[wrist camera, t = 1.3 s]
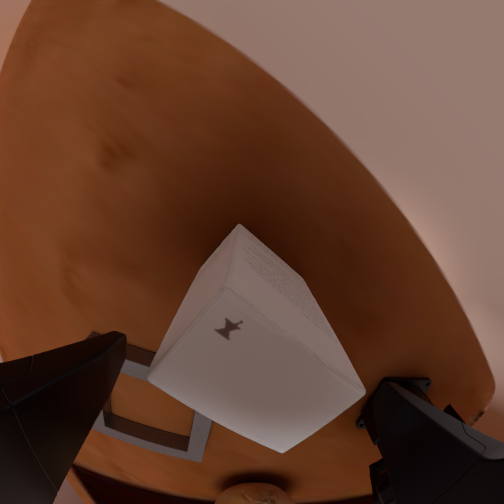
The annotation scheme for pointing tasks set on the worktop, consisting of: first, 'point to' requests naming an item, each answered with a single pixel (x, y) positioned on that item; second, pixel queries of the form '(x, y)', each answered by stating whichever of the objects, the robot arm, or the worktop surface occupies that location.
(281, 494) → the onion
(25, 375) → the robot arm
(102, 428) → the silver metal square frame
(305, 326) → the skincare box
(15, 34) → the worktop surface
